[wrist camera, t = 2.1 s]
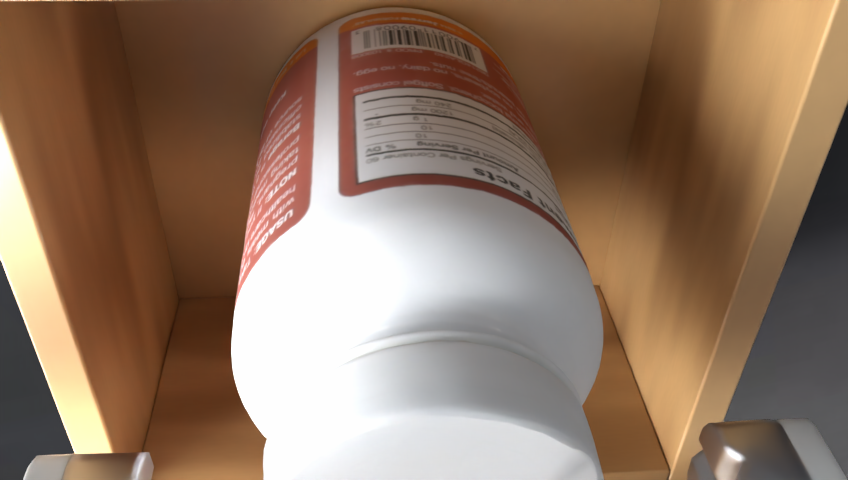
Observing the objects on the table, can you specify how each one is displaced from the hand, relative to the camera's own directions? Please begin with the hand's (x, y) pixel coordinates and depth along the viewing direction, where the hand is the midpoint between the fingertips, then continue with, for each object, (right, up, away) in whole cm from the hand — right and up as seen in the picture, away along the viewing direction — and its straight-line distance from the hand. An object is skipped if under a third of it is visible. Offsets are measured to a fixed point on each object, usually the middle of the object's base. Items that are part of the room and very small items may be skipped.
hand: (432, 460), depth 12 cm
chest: (-1, +7, +8) cm, 11 cm away
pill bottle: (-1, +6, +8) cm, 10 cm away
